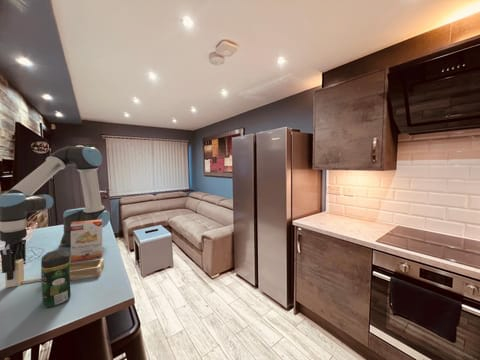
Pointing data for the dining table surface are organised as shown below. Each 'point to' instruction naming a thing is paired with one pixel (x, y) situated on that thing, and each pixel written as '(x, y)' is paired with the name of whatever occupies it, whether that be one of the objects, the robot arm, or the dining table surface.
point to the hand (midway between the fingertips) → (15, 283)
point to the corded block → (21, 273)
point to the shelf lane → (86, 269)
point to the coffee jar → (55, 278)
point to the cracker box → (86, 239)
